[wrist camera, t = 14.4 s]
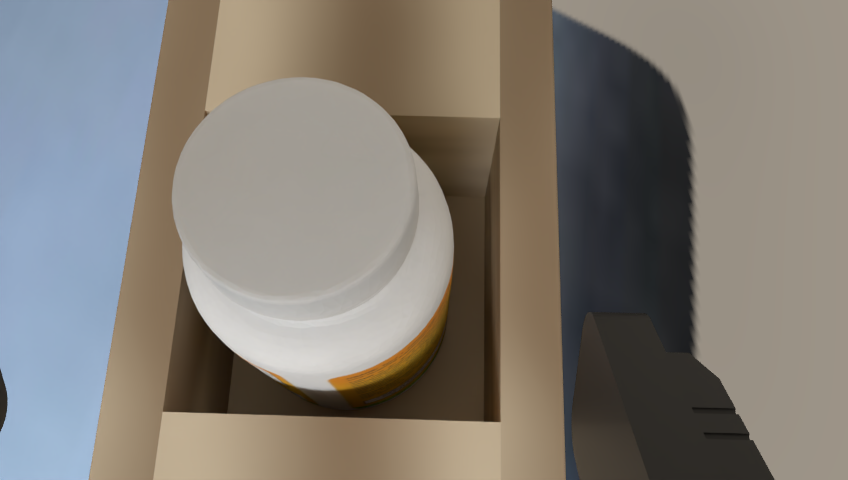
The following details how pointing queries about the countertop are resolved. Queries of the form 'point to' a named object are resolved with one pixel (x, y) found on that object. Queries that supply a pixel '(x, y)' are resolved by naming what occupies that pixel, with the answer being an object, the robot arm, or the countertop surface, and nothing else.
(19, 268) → the countertop surface
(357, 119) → the supplement bottle
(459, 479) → the post socket
